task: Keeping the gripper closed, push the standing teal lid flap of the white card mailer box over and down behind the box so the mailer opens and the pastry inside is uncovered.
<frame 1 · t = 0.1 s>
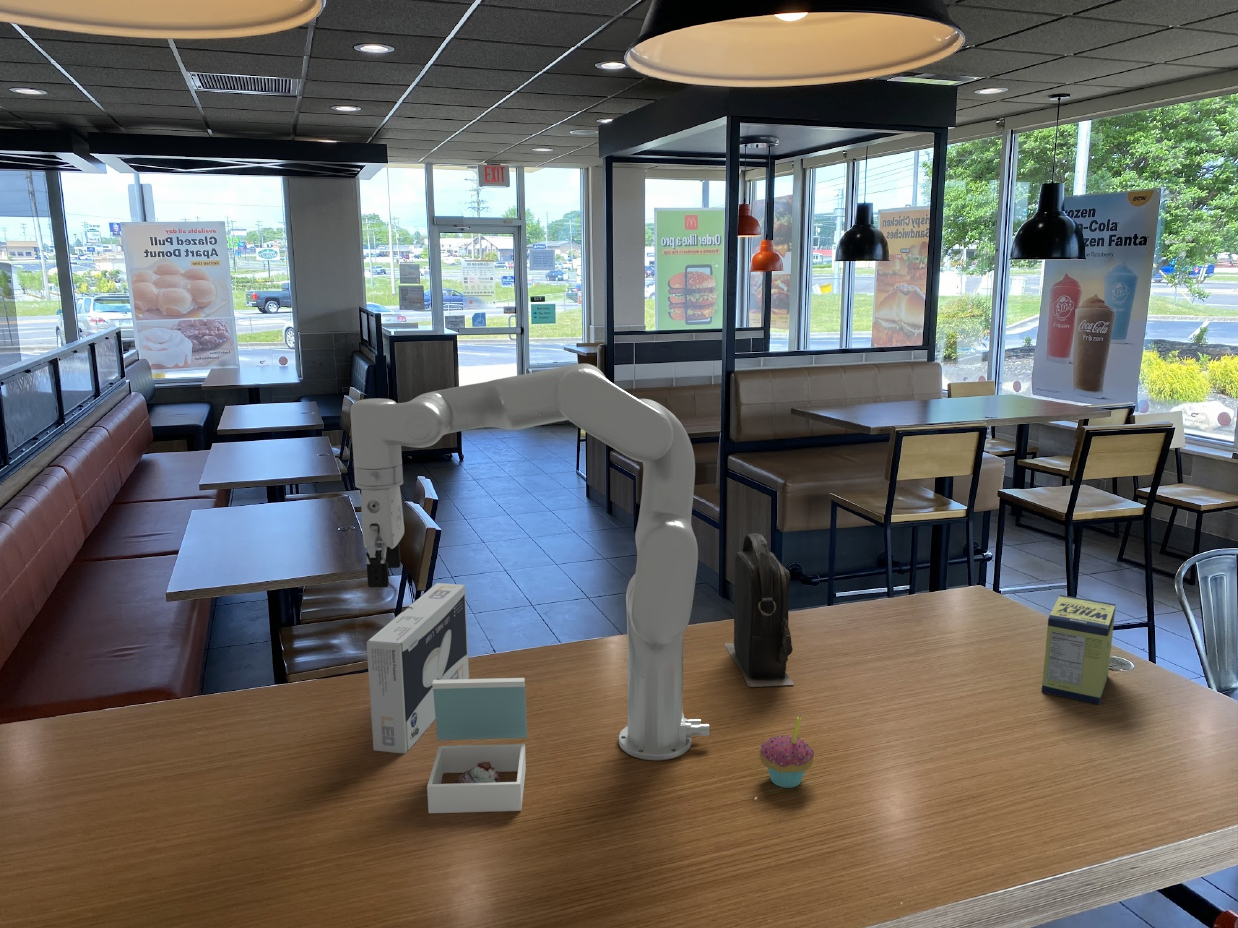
hand: (384, 576, 151), 31 cm above the table, tool pointing down, fingers open, 9 cm apart
shoulder bag: (757, 664, 192), on the table
cupcake: (785, 781, 147), on the table
lid: (480, 709, 148), point 11 cm above the table, hinge at 80.0°
mailer box: (479, 790, 145), on the table
pastry: (479, 793, 145), resting in mailer box
packaging: (425, 712, 171), on the table
protein box: (1075, 685, 181), on the table
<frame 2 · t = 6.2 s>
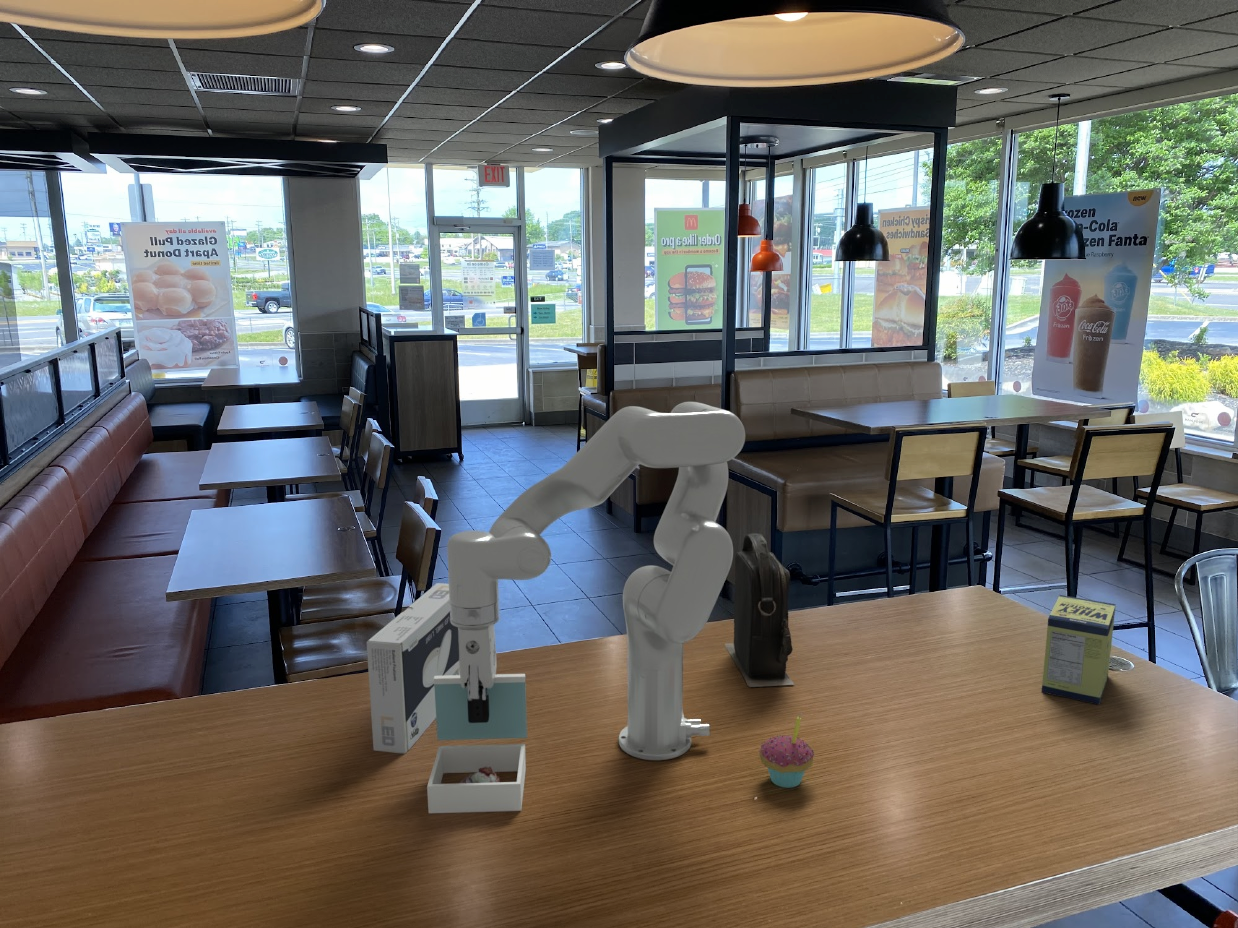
hand: (479, 720, 145), 11 cm above the table, tool pointing down, fingers closed
lid: (481, 707, 149), point 11 cm above the table, hinge at 87.4°, touching gripper
pastry: (480, 798, 143), resting in mailer box
everything else where it was.
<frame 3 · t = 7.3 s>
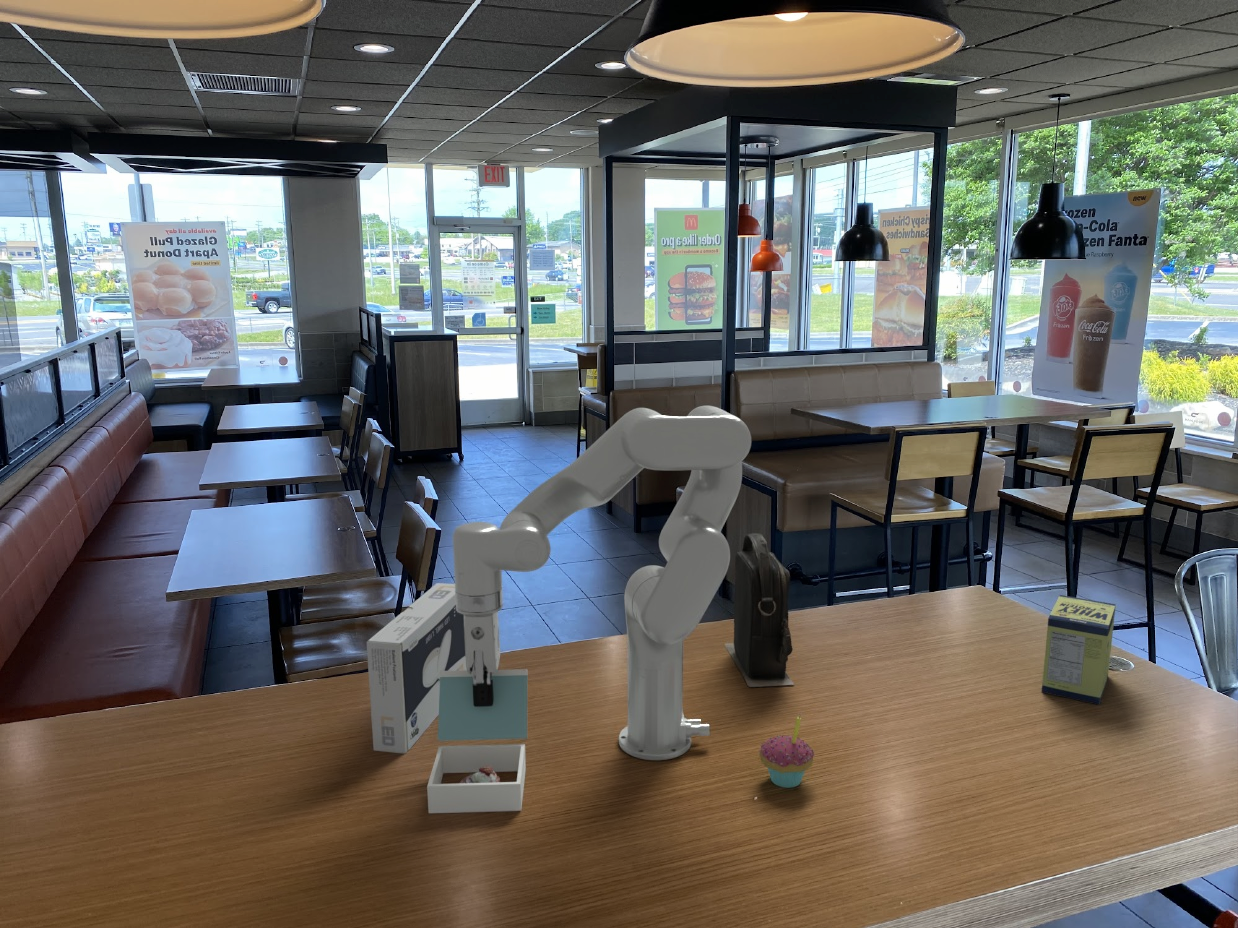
hand: (483, 703, 151), 10 cm above the table, tool pointing down, fingers closed
lid: (483, 704, 153), point 10 cm above the table, hinge at 120.8°, touching gripper
everything else where it was.
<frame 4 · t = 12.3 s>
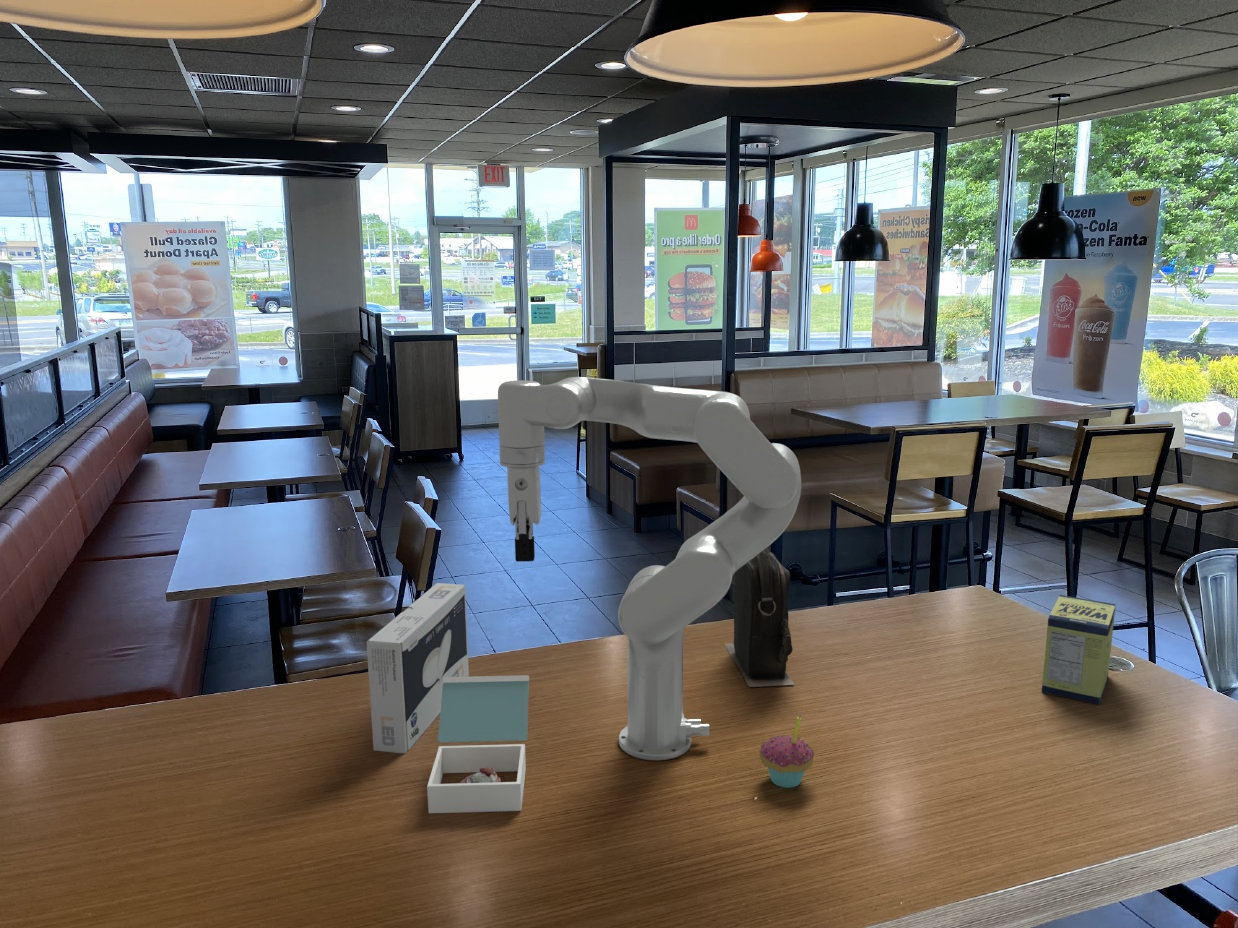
hand: (525, 559, 157), 32 cm above the table, tool pointing down, fingers closed
lid: (484, 708, 154), point 8 cm above the table, hinge at 139.7°
everything else where it was.
at the end: lid at +140° (first picture: +80°); pastry moved 1.8 cm from its start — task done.
